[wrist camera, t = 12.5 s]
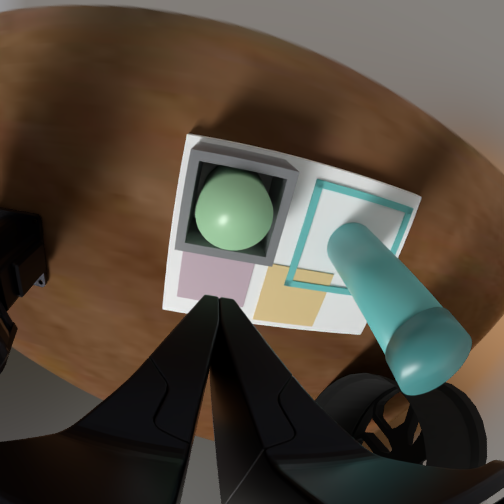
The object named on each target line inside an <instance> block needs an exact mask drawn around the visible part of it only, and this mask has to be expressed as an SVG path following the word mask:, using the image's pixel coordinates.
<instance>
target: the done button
mask: <svg viewBox="0 0 504 504" xmlns="http://www.w3.org/2000/svg"><path fill="white" fill-rule="evenodd" d="M195 218H196V223H197V226H198V228H199V231H200V232H201V234H202V235H203V236H204V238H205V239H206V240H207V241H209V242H210V243H211V244H213V245H214V246H216V247H219V248H221V249H225V250H243V249H247V248H249V247H252V246H253V245H255V244H257V243H258V242H260V241H261V240H262V239H263V238H264V237H265V236H266V234H267V233H268V231H269V229H270V227H271V224H272V220H273V206H272V203H271V200H270V198H269V195H268V193H267V191H266V189H265V186H264V184H263V182H262V180H261V178H260V176H259V175H258V173H257V172H253V171H248V170H244V169H239V168H234V167H229V166H224V165H219V166H217V167H216V168H214V169H213V170H212V171H211V172H210V173H209V174H208V176H207V177H206V179H205V182H204V184H203V187H202V190H201V193H200V196H199V199H198V202H197V205H196V211H195Z"/></svg>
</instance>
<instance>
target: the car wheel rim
mask: <svg viewBox="0 0 504 504" xmlns="http://www.w3.org/2000/svg"><path fill="white" fill-rule="evenodd" d="M399 392H401V393H402V394H403V395H404V396H405V397H406V398H407V399H408V401H409V403H410V406H409V409H408V412H407V416H406V419H405V422H404V423H402V424H401V425H399V426H398V427H396V428H393V429H392V428H391V427H390V425H389V424H388V423H387V422H386V421H385V419H384V418H383V411H384V405H385V404H386V402H387V401H388V400H389V399H390V398H392V397H393V396H394V395H395V394H397V393H399ZM315 402H316V403H317V404H318V405H319V406H320V407H321V408H322V409H323V410H324V411H325V412H326V413H327V414H328V415H329V416H330V417H331V418H332V419H333V420H335V421H336V422H337V423H338V424H339V425H340V426H341V427H342V428H343V429H344V430H345V431H346V432H347V433H348V434H350V435H351V436H352V437H353V438H354V439H355V440H356V441H357V442H358V443H359V444H361V445H362V443H363V440H364V441H365V442H366V444H367V445H368V446H369V447H370V449H371V450H372V451H373V453H374V454H376V455H378V456H381V457H384V458H388V459H392V460H397V461H402V462H407V463H413V464H419V465H423V462H424V461H425V460H427V462H426V466H432V467H439V468H447V469H459V470H466V469H475V468H479V467H481V466H484V465H485V464H486V459H487V438H486V433H485V429H484V424H483V420H482V418H481V416H480V414H479V412H478V410H477V408H476V406H475V405H474V404H473V402H472V401H471V400H470V399H469V398H468V396H467V395H466V394H465V393H464V392H462V391H461V390H459V389H458V388H456V387H455V386H453V385H452V384H449V383H446V382H444V383H443V384H442V385H440V386H438V387H437V388H435V389H433V390H431V391H429V392H426V393H423V394H420V395H407V394H404V393H403V392H402V391H401V389H400V387H399V385H398V383H397V381H393V380H391V379H389V378H387V377H384V376H380V375H376V374H370V373H359V374H350V375H348V376H345V377H343V378H341V379H338V380H337V381H335V382H334V383H333V384H331V385H330V386H328V387H327V388H326V389H325V390H324V391H323V392H322V393H321V394H320V395H319V396H318V398H317V399H316V400H315ZM371 419H373V420H374V421H375V423H376V424H377V425H378V427H379V428H380V429H381V430H382V432H383V433H384V434H385V435H386V437H387V438H388V440H389V442H390V445H391V447H392V451H391V452H390V451H389V450H388V449H387V448H386V447H385V446H384V444H383V443H382V442H381V441H380V440H379V439H378V438H377V437H376V436H375V434H374V433H368V432H365V430H366V428H367V426H368V424H369V422H370V421H371ZM418 422H419V423H420V426H421V429H422V430H421V433H420V435H419V436H418V438H417V440H416V441H415V442H414V443H413V438H414V433H415V431H416V428H417V425H418Z"/></svg>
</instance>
